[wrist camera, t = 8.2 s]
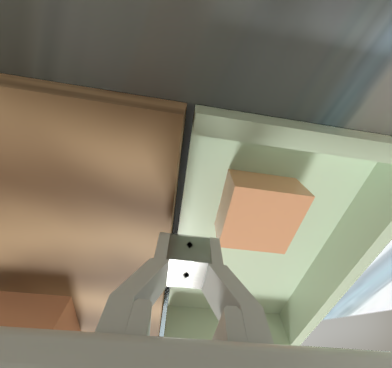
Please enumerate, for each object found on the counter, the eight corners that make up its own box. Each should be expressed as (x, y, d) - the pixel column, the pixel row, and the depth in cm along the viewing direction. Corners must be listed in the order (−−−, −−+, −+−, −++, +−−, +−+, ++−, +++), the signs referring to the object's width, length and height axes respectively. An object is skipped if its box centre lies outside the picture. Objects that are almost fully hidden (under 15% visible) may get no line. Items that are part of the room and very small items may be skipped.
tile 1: (315, 196, 12) (295, 178, 14) (235, 186, 11) (228, 168, 13) (284, 254, 14) (272, 230, 16) (217, 247, 14) (214, 223, 16)
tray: (195, 104, 12) (195, 112, 9) (400, 137, 13) (464, 155, 10) (167, 305, 22) (163, 342, 19) (282, 314, 23) (295, 350, 20)
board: (-61, 63, 11) (-211, 53, 7) (187, 103, 12) (183, 114, 8) (36, 295, 21) (-1, 345, 17) (163, 305, 22) (156, 354, 18)
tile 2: (-4, 290, 13) (-43, 332, 11) (71, 296, 14) (47, 337, 12) (17, 327, 16) (-11, 367, 14) (80, 331, 16) (63, 371, 14)
